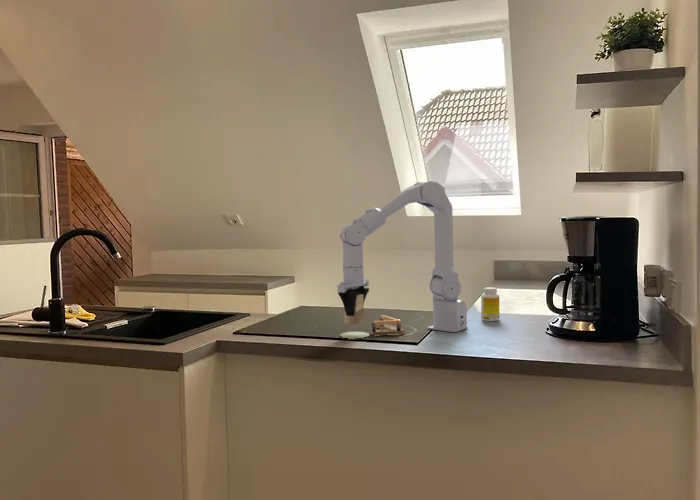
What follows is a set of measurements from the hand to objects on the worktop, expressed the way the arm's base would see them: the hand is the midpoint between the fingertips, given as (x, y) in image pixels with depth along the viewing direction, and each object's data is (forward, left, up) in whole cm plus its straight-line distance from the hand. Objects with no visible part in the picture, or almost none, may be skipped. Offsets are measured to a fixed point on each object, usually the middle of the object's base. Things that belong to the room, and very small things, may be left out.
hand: (354, 314), depth 166 cm
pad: (0, 0, -6) cm, 6 cm away
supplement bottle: (-21, -42, -6) cm, 47 cm away
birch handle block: (0, 0, -2) cm, 2 cm away
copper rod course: (-5, -8, -6) cm, 12 cm away
